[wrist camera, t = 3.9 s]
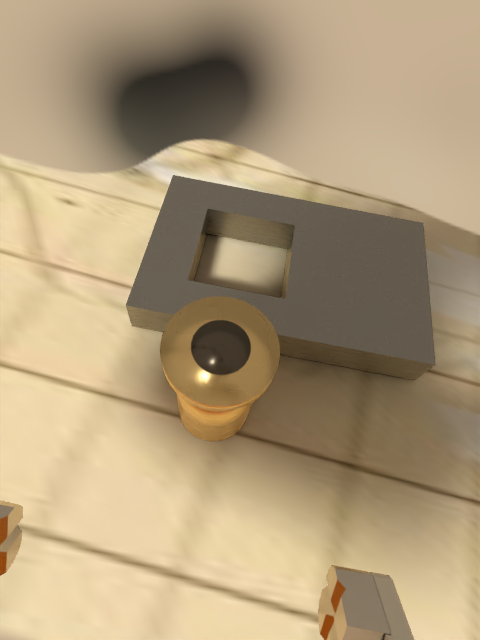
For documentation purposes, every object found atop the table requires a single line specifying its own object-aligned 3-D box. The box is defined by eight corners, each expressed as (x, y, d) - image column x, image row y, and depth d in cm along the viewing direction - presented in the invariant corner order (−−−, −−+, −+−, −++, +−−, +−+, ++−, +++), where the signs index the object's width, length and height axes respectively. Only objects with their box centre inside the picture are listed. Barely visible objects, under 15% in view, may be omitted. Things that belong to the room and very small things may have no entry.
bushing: (162, 439, 22) (145, 391, 15) (182, 360, 24) (176, 285, 17) (248, 456, 22) (272, 415, 15) (260, 375, 24) (286, 307, 17)
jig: (132, 325, 25) (125, 305, 23) (175, 201, 30) (173, 175, 28) (414, 380, 25) (435, 364, 23) (406, 246, 30) (423, 223, 28)
